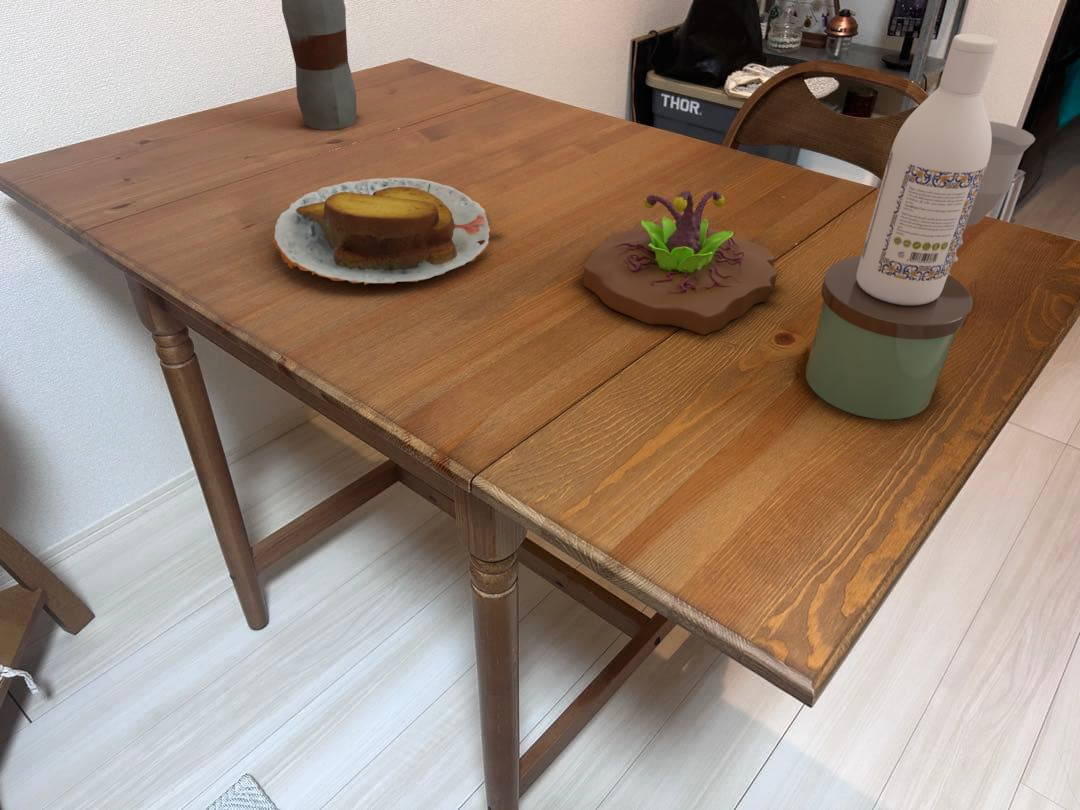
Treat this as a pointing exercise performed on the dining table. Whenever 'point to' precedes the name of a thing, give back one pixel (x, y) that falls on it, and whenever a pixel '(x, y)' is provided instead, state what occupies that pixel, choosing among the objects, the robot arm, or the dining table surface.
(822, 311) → the canister
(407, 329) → the dining table surface
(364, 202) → the food on plate
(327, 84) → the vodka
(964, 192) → the bath foam
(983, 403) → the dining table surface
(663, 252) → the plant
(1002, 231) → the dining table surface
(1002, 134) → the chalice
